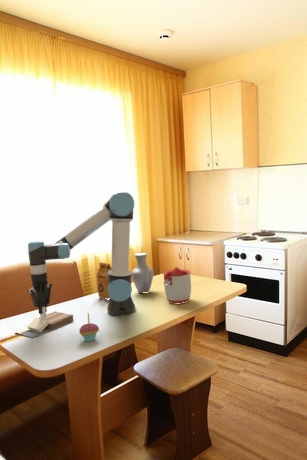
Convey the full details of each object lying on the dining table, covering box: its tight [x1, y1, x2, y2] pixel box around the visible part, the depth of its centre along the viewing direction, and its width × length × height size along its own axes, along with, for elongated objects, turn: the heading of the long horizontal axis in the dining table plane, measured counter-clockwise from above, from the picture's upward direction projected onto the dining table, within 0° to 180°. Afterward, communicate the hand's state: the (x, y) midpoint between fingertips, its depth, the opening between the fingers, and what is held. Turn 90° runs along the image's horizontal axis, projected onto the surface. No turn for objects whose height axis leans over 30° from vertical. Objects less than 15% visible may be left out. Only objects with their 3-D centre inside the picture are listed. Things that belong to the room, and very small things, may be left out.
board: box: [38, 311, 74, 331], centre depth 185 cm, size 14×14×3 cm
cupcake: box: [79, 312, 100, 343], centre depth 160 cm, size 9×8×12 cm
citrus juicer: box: [162, 266, 192, 304], centre depth 205 cm, size 16×17×20 cm
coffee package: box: [96, 262, 112, 299], centre depth 222 cm, size 10×12×22 cm
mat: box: [20, 328, 52, 339], centre depth 175 cm, size 14×11×1 cm
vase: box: [130, 252, 155, 293], centre depth 228 cm, size 14×14×25 cm
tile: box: [26, 317, 49, 332], centre depth 176 cm, size 9×6×2 cm, turn 55°
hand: (43, 319), depth 179 cm, fingers closed
